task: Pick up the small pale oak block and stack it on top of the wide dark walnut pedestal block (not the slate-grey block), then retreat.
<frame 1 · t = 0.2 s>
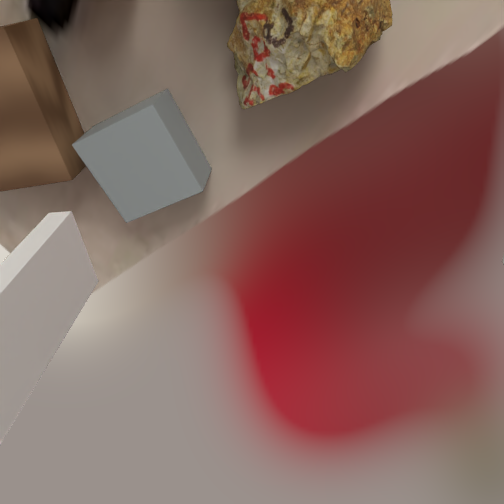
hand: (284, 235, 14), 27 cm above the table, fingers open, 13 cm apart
rock: (289, 8, 35), on the table
walnut pedestal: (7, 105, 40), on the table
slate block: (154, 146, 42), on the table
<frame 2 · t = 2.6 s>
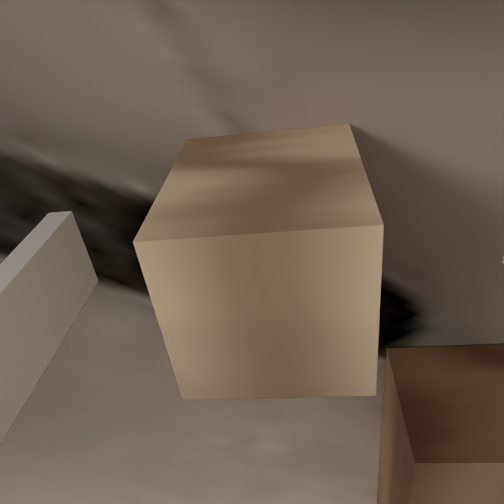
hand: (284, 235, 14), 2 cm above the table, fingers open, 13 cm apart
oak block: (274, 203, 15), on the table
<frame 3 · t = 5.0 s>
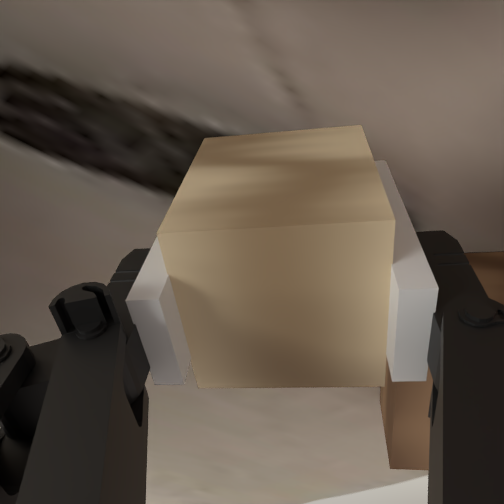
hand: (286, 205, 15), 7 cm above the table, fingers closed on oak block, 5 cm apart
oak block: (286, 201, 16), point 7 cm above the table, touching gripper
walnut pedestal: (486, 335, 27), on the table
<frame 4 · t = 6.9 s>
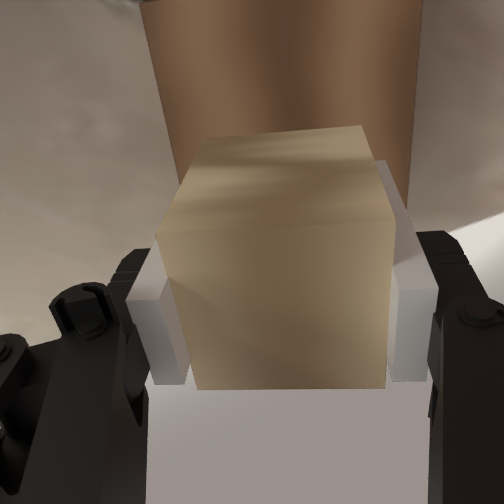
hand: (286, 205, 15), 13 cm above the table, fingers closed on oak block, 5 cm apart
oak block: (286, 202, 16), point 13 cm above the table, touching gripper
walnut pedestal: (288, 98, 26), on the table
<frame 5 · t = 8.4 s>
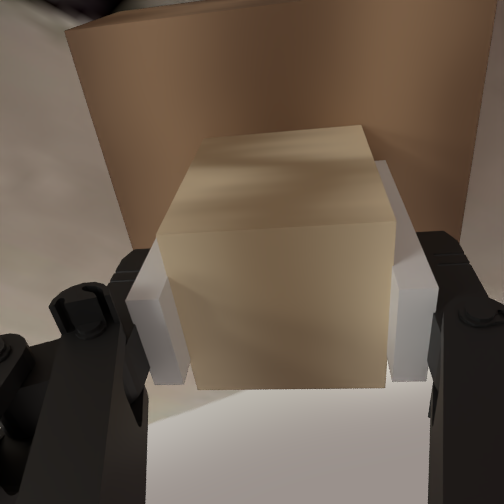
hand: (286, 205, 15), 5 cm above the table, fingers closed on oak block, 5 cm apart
oak block: (286, 202, 16), point 5 cm above the table, touching gripper, walnut pedestal
walnut pedestal: (287, 147, 20), on the table
when the fingers open (5 cm above the table, at t = 8.9 s): oak block stays where it is, resting on walnut pedestal.
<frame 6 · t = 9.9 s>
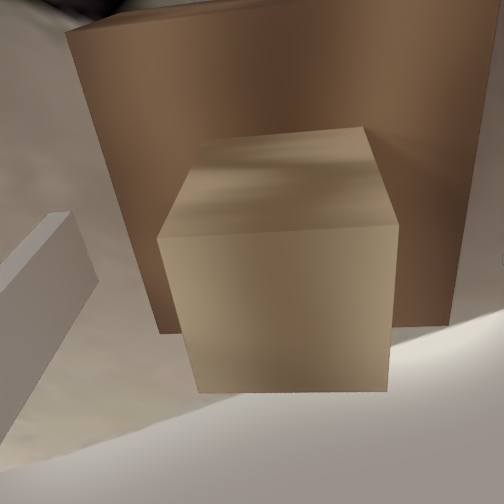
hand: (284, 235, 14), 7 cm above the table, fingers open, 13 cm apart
oak block: (287, 203, 16), point 5 cm above the table, touching walnut pedestal
walnut pedestal: (289, 149, 20), on the table
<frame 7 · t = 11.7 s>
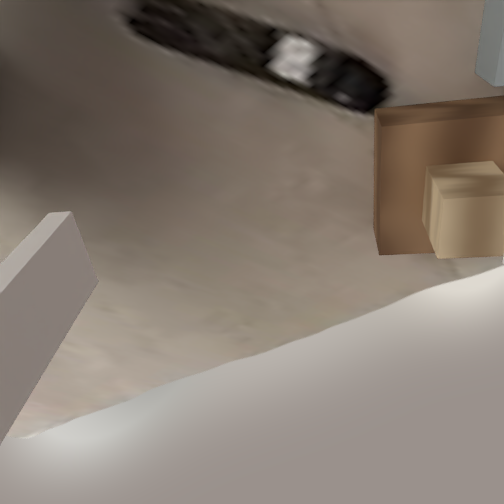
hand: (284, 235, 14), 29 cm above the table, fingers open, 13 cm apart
oak block: (455, 191, 37), point 5 cm above the table, touching walnut pedestal
walnut pedestal: (441, 167, 41), on the table
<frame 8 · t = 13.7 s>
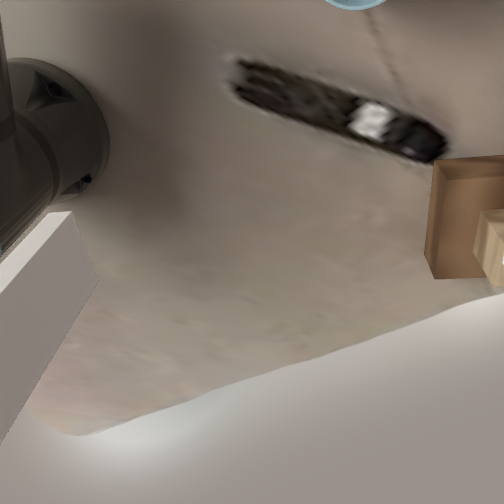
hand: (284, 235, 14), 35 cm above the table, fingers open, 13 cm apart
oak block: (502, 230, 46), point 5 cm above the table, touching walnut pedestal
walnut pedestal: (485, 206, 50), on the table
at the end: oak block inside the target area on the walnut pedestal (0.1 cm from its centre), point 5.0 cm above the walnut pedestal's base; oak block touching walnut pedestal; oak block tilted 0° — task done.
